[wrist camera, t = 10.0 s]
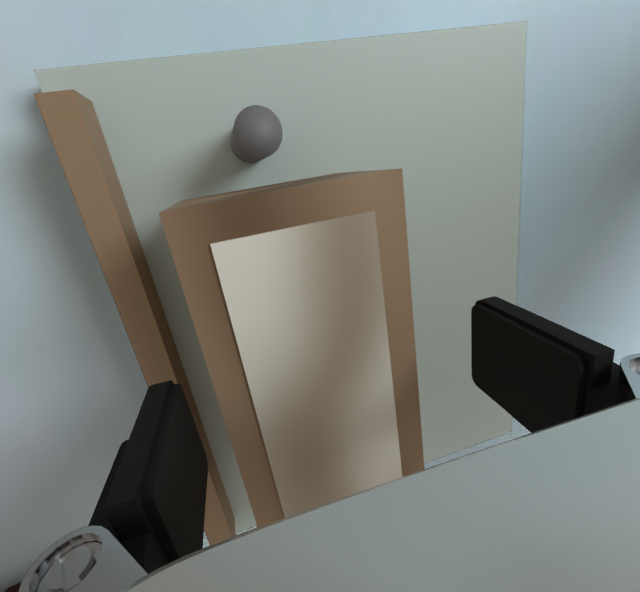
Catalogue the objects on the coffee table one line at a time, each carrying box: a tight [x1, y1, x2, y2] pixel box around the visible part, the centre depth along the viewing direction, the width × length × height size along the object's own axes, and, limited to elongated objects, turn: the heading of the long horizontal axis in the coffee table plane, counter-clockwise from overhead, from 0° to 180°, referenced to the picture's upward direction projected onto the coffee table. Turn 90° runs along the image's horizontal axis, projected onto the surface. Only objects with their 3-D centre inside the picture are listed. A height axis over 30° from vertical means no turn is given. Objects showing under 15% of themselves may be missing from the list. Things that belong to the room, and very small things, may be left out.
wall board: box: [34, 21, 527, 546], centre depth 15 cm, size 18×21×4 cm
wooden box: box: [159, 168, 424, 527], centre depth 13 cm, size 6×12×6 cm, turn 10°
